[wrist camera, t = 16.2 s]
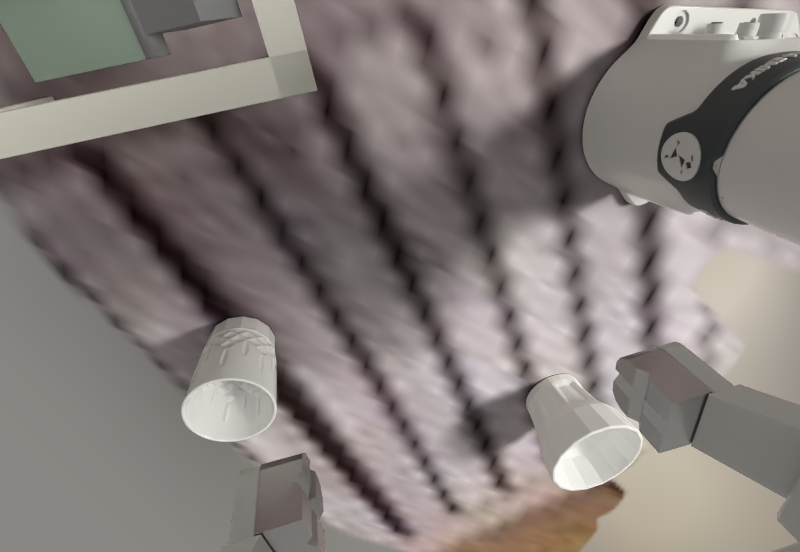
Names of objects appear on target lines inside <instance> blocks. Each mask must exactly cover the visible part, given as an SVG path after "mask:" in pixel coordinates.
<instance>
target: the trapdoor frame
mask: <svg viewBox="0 0 800 552" xmlns="http://www.w3.org/2000/svg"><path fill="white" fill-rule="evenodd" d="M252 3H253V6H254V9H255V13H256V16H257V19H258V23H259V26H260V29H261V33H262V36H263V39H264V42H265V46H266V49H267V52H268V56H269V57H264V58H259V59H255V60H250V61H245V62H240V63H235V64H230V65H225V66H221V67H216V68H211V69H206V70H201V71H196V72H192V73H187V74H182V75H177V76H172V77H167V78H162V79H158V80H153V81H148V82H143V83H138V84H133V85H128V86H124V87H119V88H114V89H109V90H104V91H99V92H95V93H90V94H85V95H80V96H75V97H70V98H65V99H61V100H56V101H55V100H54V98H53V97H52V96H51V97H46V98H41V99H36V100H31V101H27V102H22V103H18V104H14V105H10V106H6V107H2V108H0V159H3V158H7V157H12V156H16V155H21V154H26V153H30V152H35V151H40V150H44V149H49V148H54V147H58V146H63V145H67V144H72V143H77V142H81V141H86V140H91V139H95V138H100V137H104V136H109V135H114V134H118V133H123V132H128V131H132V130H137V129H142V128H146V127H151V126H155V125H160V124H165V123H169V122H174V121H179V120H183V119H188V118H192V117H197V116H202V115H206V114H211V113H216V112H220V111H225V110H229V109H234V108H239V107H243V106H248V105H253V104H257V103H262V102H267V101H271V100H276V99H280V98H285V97H290V96H294V95H299V94H304V93H308V92H313V91H317V87H316V83H315V79H314V75H313V72H312V68H311V64H310V60H309V56H308V52H307V48H306V44H305V41H304V37H303V33H302V29H301V25H300V21H299V17H298V13H297V9H296V6H295V2H294V0H252Z"/></svg>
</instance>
